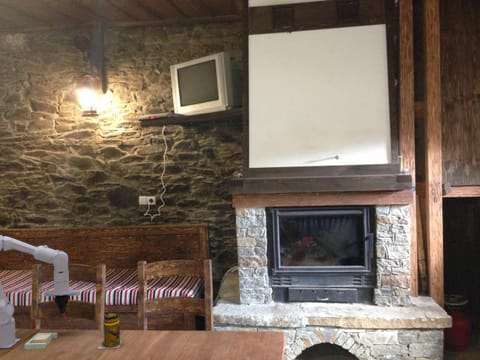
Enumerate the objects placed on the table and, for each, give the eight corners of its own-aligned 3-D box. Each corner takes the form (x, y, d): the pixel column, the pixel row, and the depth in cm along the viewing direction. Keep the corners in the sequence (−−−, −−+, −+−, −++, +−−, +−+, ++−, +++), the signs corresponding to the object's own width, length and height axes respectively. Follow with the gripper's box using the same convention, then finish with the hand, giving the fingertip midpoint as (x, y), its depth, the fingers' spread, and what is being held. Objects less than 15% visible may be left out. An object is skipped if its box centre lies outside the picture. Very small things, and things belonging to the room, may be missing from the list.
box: (24, 349, 160) (24, 344, 160) (38, 337, 171) (38, 333, 171) (45, 349, 160) (45, 344, 160) (57, 337, 171) (57, 332, 171)
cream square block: (33, 347, 163) (32, 339, 163) (39, 341, 168) (38, 334, 168) (45, 346, 163) (45, 339, 163) (51, 341, 168) (51, 334, 168)
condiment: (119, 347, 160) (118, 317, 159) (97, 349, 159) (96, 318, 158) (122, 340, 167) (121, 310, 167) (100, 341, 166) (99, 312, 165)
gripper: (82, 277, 177) (83, 309, 177) (48, 278, 177) (49, 309, 177) (75, 282, 170) (77, 314, 170) (40, 283, 170) (42, 315, 170)
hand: (62, 312), depth 173 cm, fingers closed
